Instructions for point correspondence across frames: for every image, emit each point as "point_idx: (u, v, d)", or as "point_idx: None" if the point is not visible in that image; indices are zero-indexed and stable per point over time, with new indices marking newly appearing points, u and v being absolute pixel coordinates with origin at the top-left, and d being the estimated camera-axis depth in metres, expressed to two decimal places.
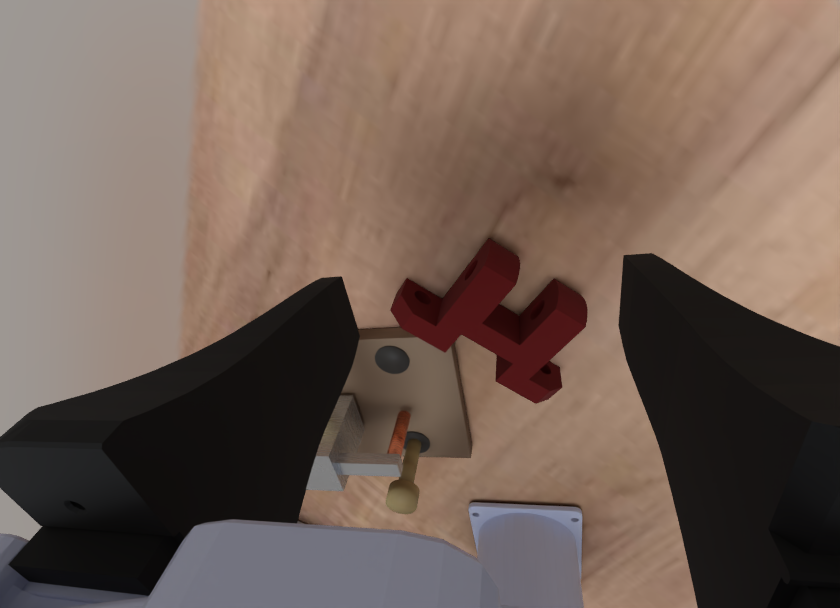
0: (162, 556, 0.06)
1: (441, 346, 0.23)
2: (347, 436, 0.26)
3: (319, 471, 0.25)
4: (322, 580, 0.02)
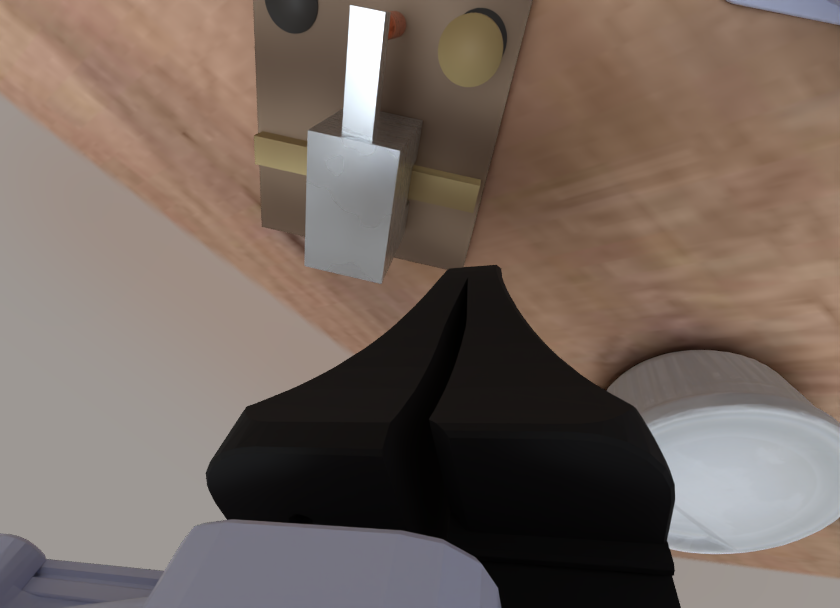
0: None
1: None
2: None
3: (345, 168, 0.15)
4: (322, 580, 0.02)
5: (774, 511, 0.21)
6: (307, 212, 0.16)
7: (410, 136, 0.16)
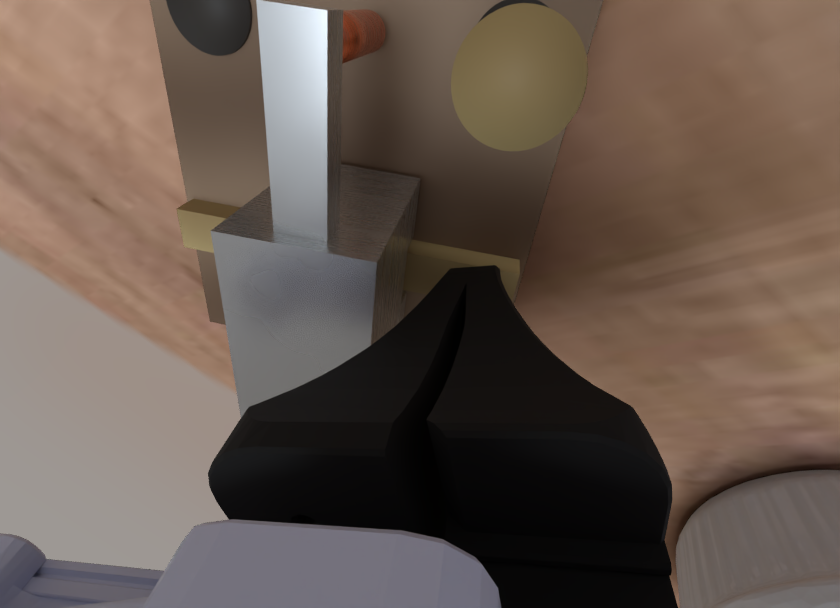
0: None
1: None
2: None
3: (284, 289, 0.08)
4: (322, 580, 0.02)
5: None
6: (232, 351, 0.09)
7: (398, 219, 0.09)
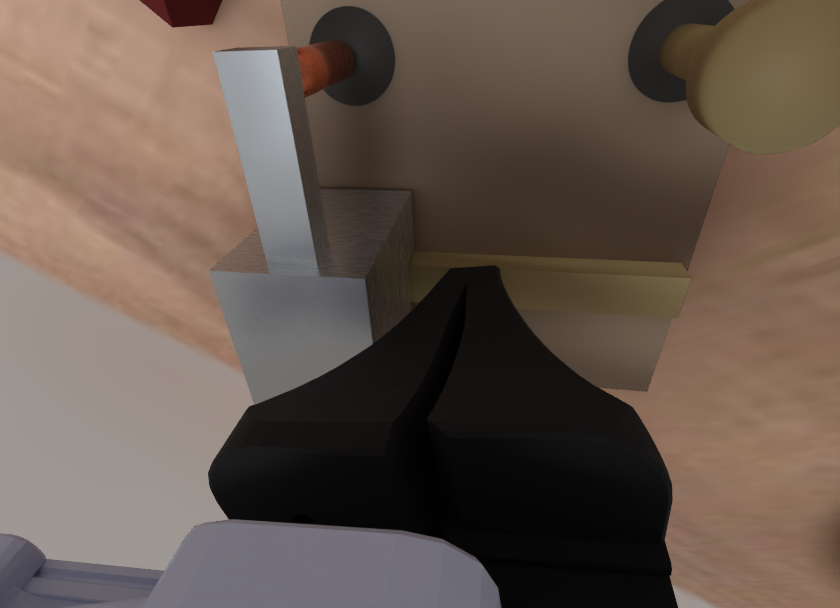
0: None
1: None
2: None
3: (284, 316, 0.09)
4: (322, 580, 0.02)
5: None
6: (249, 382, 0.10)
7: (388, 233, 0.09)
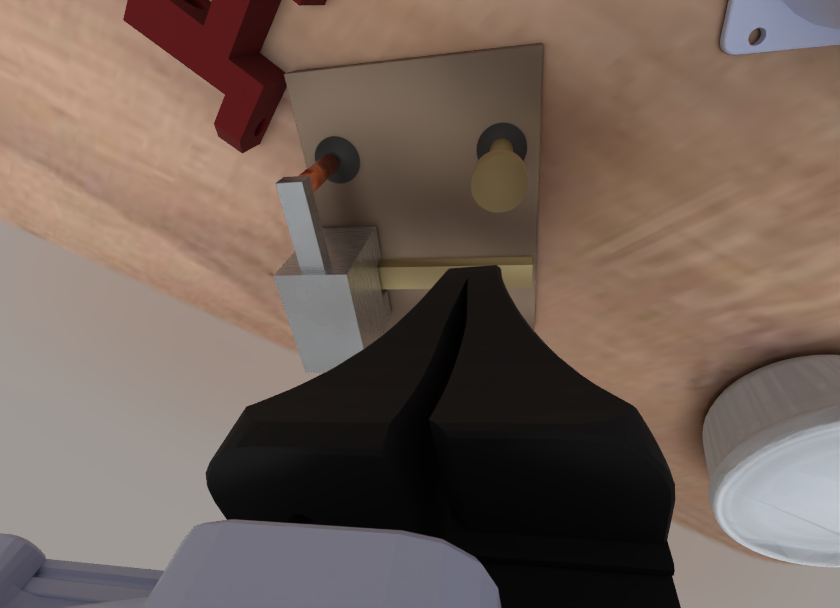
0: None
1: (253, 90, 0.17)
2: None
3: (310, 296, 0.18)
4: (322, 580, 0.02)
5: None
6: (293, 333, 0.19)
7: (359, 252, 0.18)
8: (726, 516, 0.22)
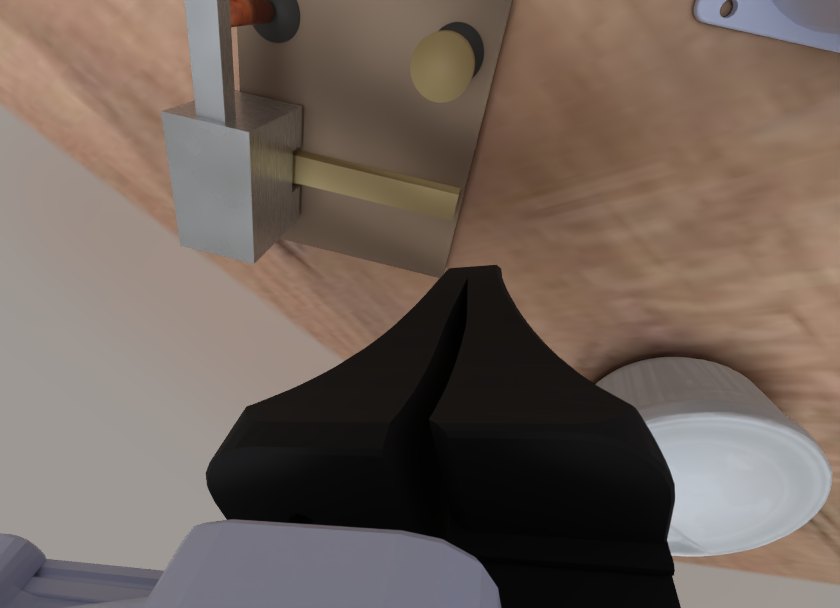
0: None
1: None
2: None
3: (201, 149, 0.15)
4: (322, 580, 0.02)
5: (744, 516, 0.22)
6: (174, 192, 0.16)
7: (273, 119, 0.16)
8: None
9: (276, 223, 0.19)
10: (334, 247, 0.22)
